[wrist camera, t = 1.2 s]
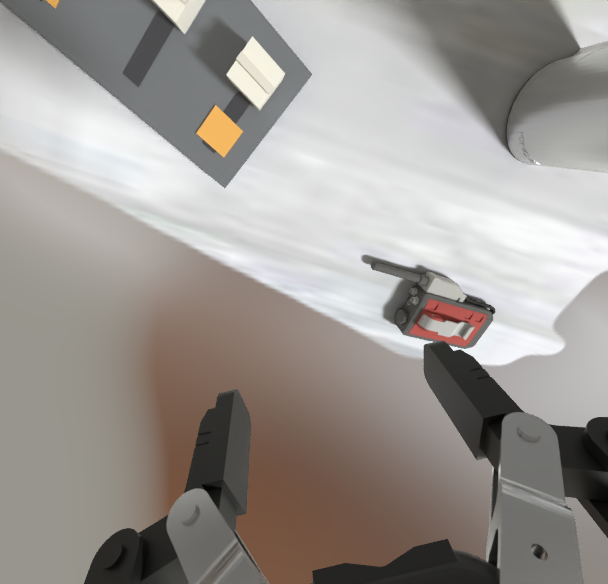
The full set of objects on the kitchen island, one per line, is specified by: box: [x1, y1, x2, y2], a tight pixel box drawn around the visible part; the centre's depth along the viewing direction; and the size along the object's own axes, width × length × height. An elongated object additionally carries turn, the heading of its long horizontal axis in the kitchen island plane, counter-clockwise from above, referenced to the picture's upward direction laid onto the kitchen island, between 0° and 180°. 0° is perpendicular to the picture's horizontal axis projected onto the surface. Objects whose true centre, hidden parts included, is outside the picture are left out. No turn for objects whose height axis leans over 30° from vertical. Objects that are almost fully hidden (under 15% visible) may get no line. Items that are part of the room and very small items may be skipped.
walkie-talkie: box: [371, 262, 495, 349], centre depth 37 cm, size 9×4×20 cm
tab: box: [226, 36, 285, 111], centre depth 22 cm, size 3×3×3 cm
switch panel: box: [0, 0, 312, 188], centre depth 22 cm, size 12×20×2 cm, turn 47°
